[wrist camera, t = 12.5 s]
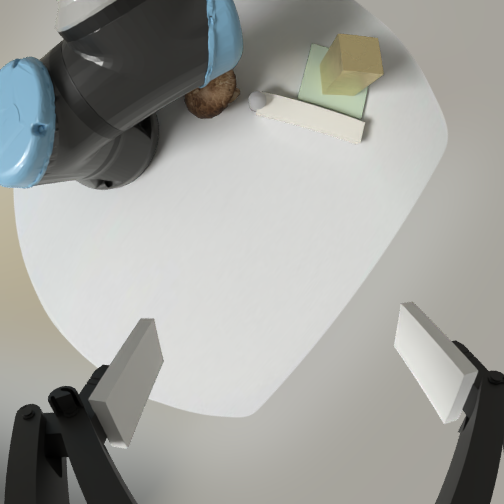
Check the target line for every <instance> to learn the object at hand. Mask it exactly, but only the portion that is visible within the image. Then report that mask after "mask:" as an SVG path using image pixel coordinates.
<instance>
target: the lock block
mask: <svg viewBox="0 0 504 504" xmlns="http://www.w3.org/2000/svg"><path fill="white" fill-rule="evenodd" d="M320 75H321V85H322V94H324V95H348V96H355V95H356V94H357V93H359V92H360V91H361V90H363V89H364V88H366V87H367V86H368V85H370V84H371V83H372V82H374V81H375V80H377V79H378V78H379V77H381V76H382V75H384V73H383V66H382V59H381V53H380V47H379V41H378V38H373V37H366V36H358V35H348V34H338V35H337V37H336V38H335V40H334V41H333V43H332V45H331V46H330V48H329V50H328V51H327V53H326V55H325V56H324V58H323V60H322V61H321V63H320Z"/></svg>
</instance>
